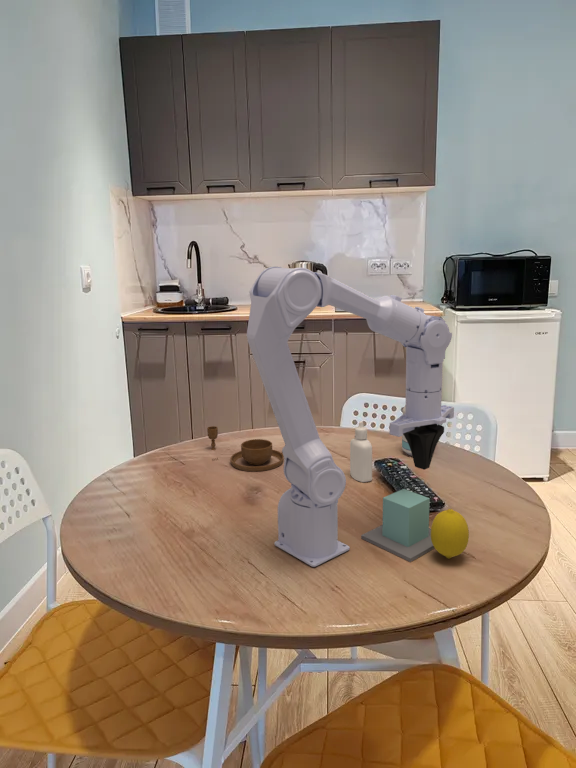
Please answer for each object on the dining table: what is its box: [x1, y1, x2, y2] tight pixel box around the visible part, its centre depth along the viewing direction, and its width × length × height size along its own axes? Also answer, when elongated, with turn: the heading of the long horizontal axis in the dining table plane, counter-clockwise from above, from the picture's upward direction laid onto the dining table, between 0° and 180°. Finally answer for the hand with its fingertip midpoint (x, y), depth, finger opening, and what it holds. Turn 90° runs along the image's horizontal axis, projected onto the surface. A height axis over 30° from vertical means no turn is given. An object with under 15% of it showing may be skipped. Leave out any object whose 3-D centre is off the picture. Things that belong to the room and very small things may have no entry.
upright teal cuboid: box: [382, 488, 431, 547], centre depth 93 cm, size 5×5×7 cm
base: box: [360, 524, 435, 563], centre depth 94 cm, size 10×10×1 cm
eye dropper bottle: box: [349, 421, 373, 483], centre depth 118 cm, size 4×6×12 cm
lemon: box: [430, 508, 470, 559], centre depth 87 cm, size 6×6×8 cm
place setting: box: [206, 425, 284, 473], centre depth 133 cm, size 18×20×6 cm
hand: (421, 467), depth 97 cm, fingers closed
